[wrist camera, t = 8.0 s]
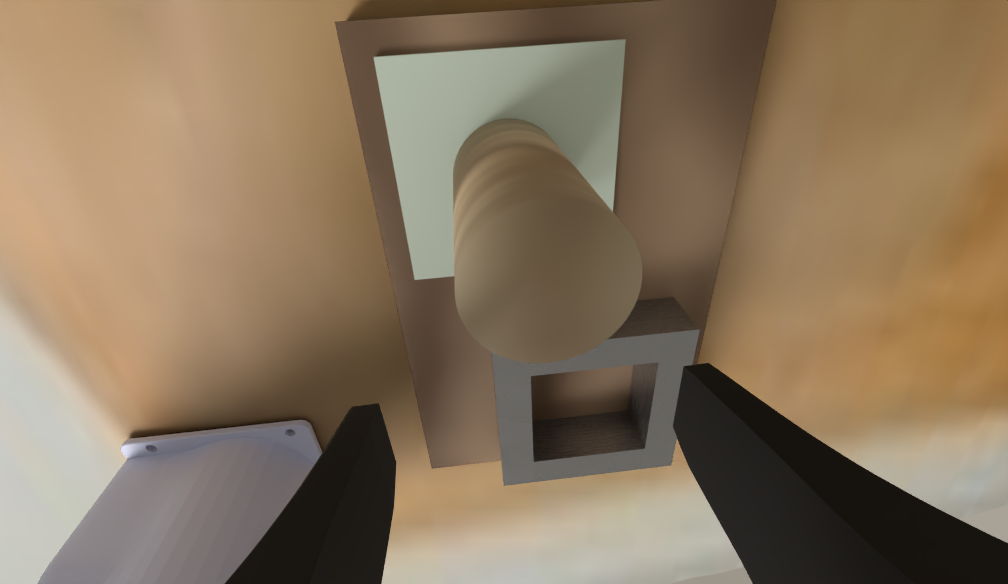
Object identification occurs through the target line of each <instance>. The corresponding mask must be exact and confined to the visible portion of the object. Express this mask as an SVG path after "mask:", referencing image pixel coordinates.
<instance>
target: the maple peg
mask: <svg viewBox="0 0 1008 584" xmlns="http://www.w3.org/2000/svg"><path fill="white" fill-rule="evenodd" d="M453 213H454V281H455V301H456V306H457V310H458V313H459V316H460V318H461V320H462V322H463V324H464V326H465V327H466V329H467V330H468V332H469V333H470V334H471V335H472V336H473V338H474V339H475V340H476V341H477V342H479V343H480V344H481V345H482V346H483V347H485V348H486V349H488V350H490V351H491V352H493V353H495V354H497V355H499V356H501V357H504V358H507V359H510V360H514V361H519V362H525V363H552V362H558V361H563V360H567V359H570V358H573V357H576V356H579V355H581V354H584V353H586V352H588V351H590V350H592V349H593V348H595V347H597V346H598V345H600V344H601V343H603V342H604V341H606V340H607V339H608V338H609V337H610V336H612V335H613V334H614V333H615V332H616V331H617V330H618V329H619V328H620V327H621V326H622V324H623V323H624V322H625V320H626V319H627V318H628V316H629V315H630V313H631V311H632V310H633V308H634V306H635V303H636V301H637V299H638V296H639V292H640V289H641V283H642V262H641V256H640V253H639V250H638V247H637V244H636V242H635V241H634V239H633V237H632V235H631V234H630V233H629V231H628V230H627V228H626V227H625V226H624V225H623V224H622V222H621V221H620V220H619V219H618V218H617V216H616V215H615V214H614V213H613V212H612V210H611V209H610V208H609V207H608V206H607V204H606V203H605V202H604V201H603V200H602V198H601V197H600V196H599V195H598V194H597V192H596V191H595V190H594V189H593V188H592V186H591V185H590V184H589V183H588V182H587V180H586V179H585V178H584V177H583V176H582V174H581V173H580V172H579V171H578V170H577V168H576V167H575V166H574V165H573V164H572V162H571V161H570V160H569V159H568V158H567V156H566V155H565V154H564V153H563V152H562V150H561V149H560V148H559V147H558V146H557V144H556V143H555V142H554V141H553V140H552V138H551V137H550V136H549V135H548V134H547V133H546V132H545V131H544V130H542V129H541V128H540V127H538V126H536V125H534V124H533V123H530V122H527V121H524V120H520V119H500V120H495V121H492V122H489V123H487V124H485V125H483V126H481V127H479V128H478V129H477V130H475V131H474V132H473V133H472V134H471V135H469V136H468V138H467V139H466V140H465V141H464V143H463V144H462V146H461V147H460V149H459V151H458V153H457V156H456V159H455V162H454V168H453Z"/></svg>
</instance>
